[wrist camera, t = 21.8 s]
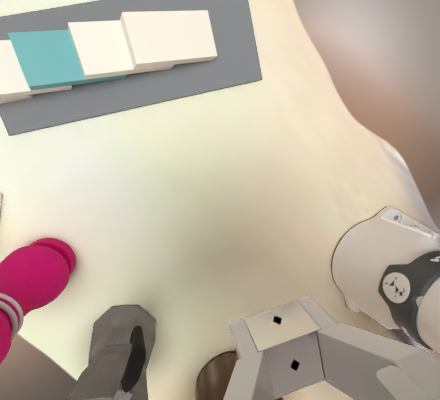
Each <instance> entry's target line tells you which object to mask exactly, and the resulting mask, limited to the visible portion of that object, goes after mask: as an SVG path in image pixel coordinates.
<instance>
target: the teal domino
mask: <svg viewBox="0 0 440 400" xmlns="http://www.w3.org/2000/svg"><path fill="white" fill-rule="evenodd" d="M8 35H9V38H10V40H11V43H12V45H13V48H14V51H15V53H16V56H17V58H18V61H19V64H20V66H21V69H22V71H23V74H24V76H25V79H26V82H27V84H28V87H29V88H30V90H31V91H32V90H39V89H47V88H55V87H62V86H70V85H78V84H85V83H93V82H101V81H108V80H116V79H124V78H125V77H126V75H127V74H126V75H118V76H110V77H102V78H94V79H86V80H85V77H84V74H83V71H82V68H81V65H80V62H79V59H78V56H77V53H76V50H75V47H74V44H73V41H72V38H71V35H70V32H69V30H52V31H33V32H14V33H8Z"/></svg>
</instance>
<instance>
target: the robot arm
mask: <svg viewBox="0 0 440 400" xmlns="http://www.w3.org/2000/svg"><path fill="white" fill-rule="evenodd" d="M394 217H395V218H394ZM332 273H333V278H334V281H335V283H336V285H337V286H338V288H339V289H340V290H341V292H342V293H343V295H344V298H345V303H346V306H347V308H348V309H350V310H351V311H353V312H365V313H366V314H368V315H369V316H370V317H372V318H373V319H374V320H376V321H377V322H379V323H380V324H381V325H383V326H384V327H386V328H387V329H390V330H392V329H401V330H403V331H404V332H405V333H406V334H407V335H408V336H409V337H410V338H412V339H413V340H414V341H416V342H418V343H420V344H421V345H423V346H424V347H426V348H428V349H431V350H434V351H436V352H437V353H438V354H440V233H438V232H437V233H436V232H434V231H433V230H431V229H429V228H427V227H426V226H424V225H422V224H421V223H419V222H417V221H415V220H414V219H412V218H410V217H409V216H407V215H405V214H404V213H402V212H400V211H398V210H397V209H395V208H392V207H386V208H384V209H383V210H381V211H380V212H379V213H378V214H377V215H376V216H375V217H373V218H371V219H369V220H366V221H364V222H361V223H359V224H358V225H356V226H354V227H353V228H352V229H351V230H349V231H348V232H347V233H346V234H345V236H344V237H343V238H342V239H341V241H340V242H339V244H338V246H337V248H336V250H335V253H334V256H333V261H332ZM229 326H230V330H231V333H232V337H233V341H234V345H235V348H236V352H237V356H238V359H239V360H237V361H236V364H235V367H234V370H233V373H232V376H231V379H230V382H229V384H228V387H227V390H226V393H225V396H224V399H223V400H275V399H278V398H280V397H282V396H284V395H287V394H289V393H291V392H294V391H296V390H298V389H301V388H304V387H306V386H309V385H312V384H315V383H318V382H320V381H323V380H326V382H328V383H329V384H331V385H332V386H334V387H336V388H337V389H339V390H340V391H342V392H343V393H345V394H346V395H348V396H349V397H351V398H353V399H354V400H440V362H439V361H438V360H436V359H435V358H434V357H433V356H431V355H430V354H429V353H428V352H426V351H425V350H422V349H419V348H416V347H413V346H411V345H408V344H405V343H402V342H399V341H396V340H393V339H390V338H387V337H384V336H381V335H378V334H375V333H372V332H369V331H366V330H363V329H360V328H357V327H354V326H351V325H348V324H345V323H342V322H340V323H336V322H335V321H334V320H333V319H332V318H331V317H330V316H329V315H328V314H327V313H326V312H325V311H324V310H323V308H322V307H321V306H320V305H319V304H318V303H317V302H316V301H315V300H314V299H313V298H312V297H311V296H309V295H307V296H305V297H302V298H299V299H297V300H295V301H293V302H290V303H287V304H284V305H281V306H278V307H276V308H273V309H269V310H266V311H263V312H260V313H257V314H254V315H251V316H247V317H244V318H242V319H239V320H236V321H233V322H230V323H229Z"/></svg>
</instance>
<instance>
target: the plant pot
mask: <svg viewBox="0 0 440 400" xmlns="http://www.w3.org/2000/svg"><path fill="white" fill-rule="evenodd" d="M237 360H239V359H238V356H237V353H231V352H228V353H224V354H222V355H220V356H218V357H216V358H215V359H213V360H212V361H210V362H209V363H208V364H207V365H206V366H205V367H204V369H203V370H202V371H201V373H200V375H199V377H198V379H197V385H196V400H223V399H224V396H225V393H226V390H227V387H228V384H229V382H230V379H231V376H232V373H233V370H234V367H235V364H236V361H237ZM275 400H283V399H282V397H280V398H278V399H275Z"/></svg>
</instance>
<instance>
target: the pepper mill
mask: <svg viewBox="0 0 440 400" xmlns="http://www.w3.org/2000/svg"><path fill="white" fill-rule="evenodd" d="M74 267H75V256H74V253H73V251H72V249H71V248H70V247H69V246H68V245H67V244H65V243H64V242H62V241H60V240H57V239H51V238H45V239H40V240H37V241H35V242H33V243H32V244H30V245H29V246H26V247H22V248H19V249H17V250H15V251H13V252H12V253H11V254H10V255H8V256H7V257H6V258H5V259H4V260H3V261H2V262H1V263H0V364H1V362H2V361H3V360H4V358H5V357H6V355H7V353H8V351H9V349H10V346H11V340H12V339H13V337H14V336H15V334H16V333H17V332H18V331H19V330H20V328H21V326H22V324H23V317H24V316H25V315H26V314H27V313H28V312H30V311H31V310H34V309H37V308H40V307H43V306H44V305H46V304H48V303H50V302H51V301H53V300H54V299H56V298H57V297H58V296H59V294H60V293H61V292H62V291H63V290H64V289H65V287H66V285H67V283H68V280H69V275H70V274H71V272H72V271H73V269H74Z"/></svg>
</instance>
